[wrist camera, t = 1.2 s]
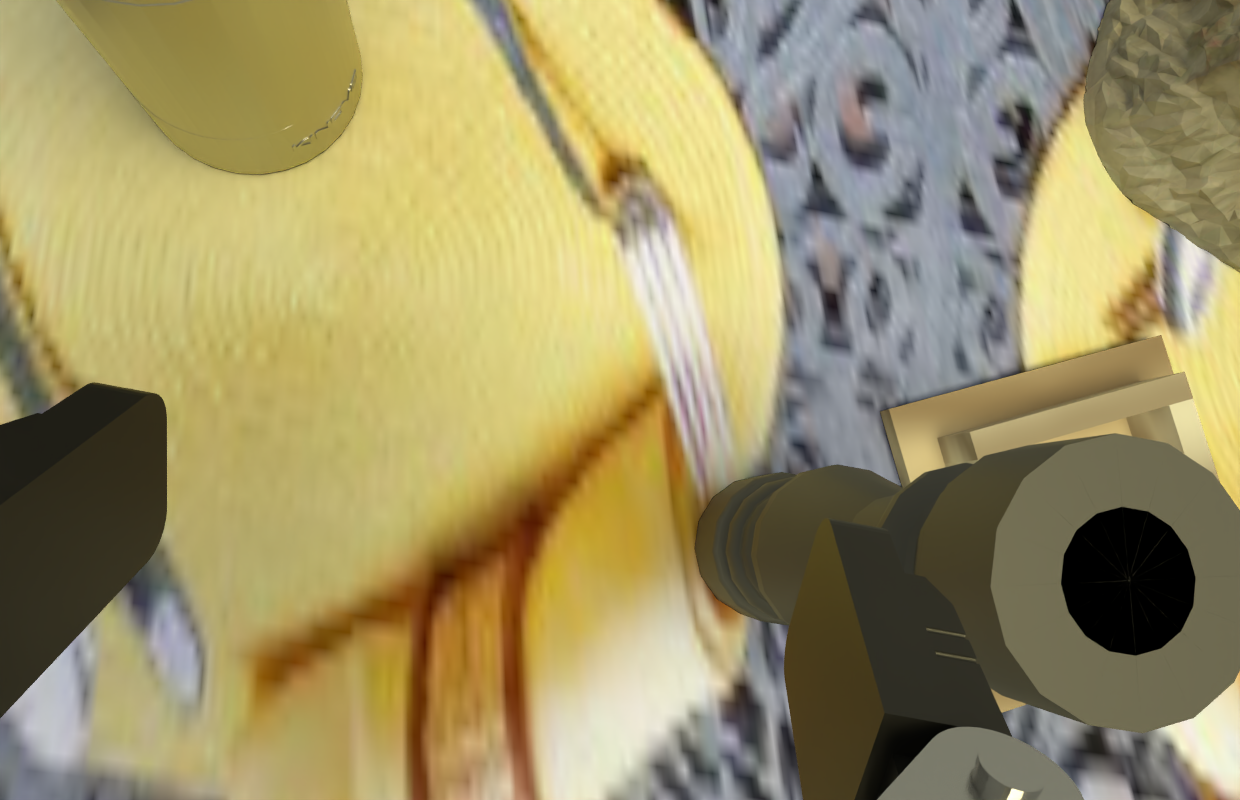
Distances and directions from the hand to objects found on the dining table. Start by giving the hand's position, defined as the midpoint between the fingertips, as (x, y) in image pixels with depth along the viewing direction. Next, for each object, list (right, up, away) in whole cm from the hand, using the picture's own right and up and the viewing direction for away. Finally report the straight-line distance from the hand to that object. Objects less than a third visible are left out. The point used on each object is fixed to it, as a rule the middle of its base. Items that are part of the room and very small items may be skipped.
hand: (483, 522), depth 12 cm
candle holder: (+8, -5, +32) cm, 33 cm away
